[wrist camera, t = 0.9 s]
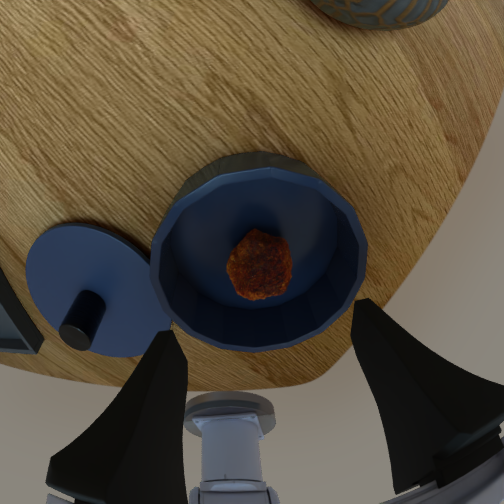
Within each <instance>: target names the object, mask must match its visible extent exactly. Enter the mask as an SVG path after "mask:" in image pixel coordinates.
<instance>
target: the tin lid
mask: <svg viewBox="0 0 504 504" xmlns="http://www.w3.org/2000/svg"><path fill="white" fill-rule="evenodd" d="M149 274H150V260H149V259H148V258H147V257H146V256H145V255H144V254H143V253H142V252H141V251H140V250H139V249H138V248H136V247H135V246H134V245H133V244H132V243H130V242H129V241H127V240H126V239H124V238H123V237H121V236H119V235H117V234H115V233H113V232H111V231H109V230H107V229H104V228H101V227H99V226H95V225H91V224H85V223H65V224H60V225H57V226H54V227H52V228H50V229H48V230H47V231H45V232H44V233H43V234H42V235H41V236H40V237H39V238H38V239H37V240H36V241H35V242H34V244H33V245H32V246H31V249H30V251H29V253H28V257H27V261H26V279H27V284H28V288H29V291H30V294H31V296H32V298H33V301H34V303H35V304H36V306H37V308H38V309H39V311H40V312H41V314H42V315H43V317H44V318H45V319H46V320H47V321H48V323H49V324H50V325H51V326H52V327H53V328H54V329H55V330H57V331H58V332H59V335H60V337H61V339H62V340H63V341H64V342H65V343H66V344H67V345H68V346H70V347H72V348H74V349H76V350H79V351H86V350H89V351H92V352H94V353H98V354H101V355H106V356H111V357H134V356H138V355H142V354H145V352H146V350H147V349H148V347H149V345H150V344H151V342H152V340H153V339H154V337H155V335H156V334H157V332H158V331H166V330H170V327H171V322H172V319H171V318H170V317H169V316H168V315H167V314H166V313H165V312H164V311H163V309H162V307H161V305H160V303H159V300H158V298H157V296H156V293H155V291H154V288H153V286H152V284H151V281H150V278H149Z"/></svg>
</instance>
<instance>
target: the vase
mask: <svg viewBox="0 0 504 504" xmlns="http://www.w3.org/2000/svg"><path fill="white" fill-rule="evenodd" d="M311 1H312V2H313V3H314V4H315V5H316V6H317V7H318V8H319V9H320V10H322V11H323V12H325V13H326V14H328V15H329V16H331V17H333V18H335V19H337V20H339V21H341V22H343V23H346V24H348V25H351V26H355V27H359V28H363V29H369V30H380V31H390V30H399V29H404V28H409V27H413V26H416V25H419V24H421V23H423V22H425V21H427V20H429V19H431V18H432V17H433V16H435V15H436V14H437V13H438V12H440V11H441V10H442V9H443V8H444V7H445V5H446V4H447V2H448V1H449V0H311Z"/></svg>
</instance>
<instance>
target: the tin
mask: <svg viewBox="0 0 504 504" xmlns="http://www.w3.org/2000/svg"><path fill="white" fill-rule="evenodd" d="M253 229H257V230H259V231H262V232H263V233H267V234H269V235H270V236H275V237H281V238H285V240H286V241H287V243H288V245H289V250H290V251H291V253H290V254H291V255H290V257H291V258H292V269H291V276H292V277H291V279H290V282H289V285H288V288H287V291H286V292H284V293H283V294H282V295H277V296H271V297H266V298H265V299H256V300H254V301H253V300H249V299H248V298H244V297H242V296H240V295H239V294H237V292H236V291H235V288H234V285H233V284H232V280H231V279H230V278H229V277H230V276H229V274H228V273H227V271H226V270H227V268H226V267H227V263H228V262H227V261H228V259H229V256H230V253H231V251H232V250H233V249H234V248H236V246H237V245H238V244H239V243H240V241H242V240H243V238H244V237H245V236H246V234H247V233H249V232H250V231H251V230H253ZM271 234H272V235H271ZM367 250H368V242H367V239H366V237H365V234H364V232H363V229H362V227H361V224H360V222H359V219H358V217H357V214H356V212H355V209H354V208H353V206H352V205H351V204H350V203H349V202H348V201H347V200H346V199H345V198H344V197H343V196H342V195H341V194H340V193H339V192H338V191H336V190H335V189H334V188H333V187H332V186H331V185H330V184H329V183H328V182H327V181H326V180H324V179H323V178H322V177H321V176H320V175H318V174H317V173H316V172H315V171H314V170H312V169H311V168H310V167H309V166H307V165H306V164H305V163H304V162H302V161H299V160H296V159H292V158H290V157H287V156H284V155H280V154H275V153H269V152H265V151H263V152H262V151H259V152H247V153H239V154H235V155H230V156H227V157H222V158H219V159H218V160H216V161H214V162H212V163H211V164H209V165H207V166H205V167H203V168H202V169H201V170H199V171H198V172H197V173H195V174H194V175H193V176H191V177H190V178H188V179H187V180H186V181H185V182H184V184H183V185H182V187H181V188H180V190H179V192H178V193H177V194H176V196H175V198H174V199H173V201H172V203H171V204H170V206H169V207H168V209H167V211H166V213H165V215H164V217H163V219H162V221H161V223H160V225H159V227H158V229H157V231H156V233H155V235H154V237H153V239H152V245H151V258H150V274H149V278H150V281H151V284H152V286H153V288H154V291H155V293H156V296H157V298H158V300H159V303H160V305H161V307H162V309H163V311H164V312H165V313H166V314H167V315H168V316H169V317H170V318H171V319H172V320H173V321H174V322H175V323H176V324H177V325H178V326H179V327H180V328H181V329H183V330H184V331H185V332H186V333H187V334H189V335H190V336H192V337H195V338H197V339H199V340H201V341H204V342H206V343H208V344H210V345H213V346H215V347H217V348H220V349H227V350H235V351H244V352H253V353H255V352H263V351H270V350H276V349H282V348H288V347H292V346H294V345H296V344H298V343H300V342H303V341H305V340H307V339H309V338H311V337H313V336H316V335H318V334H320V333H322V332H323V331H324V330H325V329H326V328H328V327H329V326H330V325H331V324H332V323H333V322H334V321H336V320H337V319H338V318H339V317H340V316H341V315H342V314H343V313H344V312H345V311H347V310H348V308H349V307H350V305H351V303H352V301H353V300H354V298H355V296H356V294H357V292H358V290H359V288H360V287H361V285H362V283H363V281H364V278H365V272H366V262H367Z"/></svg>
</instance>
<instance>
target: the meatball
mask: <svg viewBox="0 0 504 504" xmlns="http://www.w3.org/2000/svg"><path fill="white" fill-rule="evenodd" d="M271 235H272V234H271ZM290 253H291V251H290V250H289V245H288V243H287V241H286V240H285V238H281V237H275V236H270V235H269V234H267V233H263V232H262V231H259V230H257V229H253V230H251V231H250V232H249V233H247V234H246V236H245V237H244V238H243V240H242V241H240V243H239V244H238V245H237V246H236V248H234V249H233V250H232V251H231V253H230V256H229V259H228V261H227V262H228V263H227V267H226V268H227V270H226V271H227V273H228V274H229V276H230V277H229V278H230V279H231V280H232V284H233V285H234V288H235V291H236V292H237V294H239V295H240V296H242V297H244V298H248V299H249V300H253V301H254V300H256V299H265V298H266V297H271V296H277V295H282V294H283V293H284V292H286V291H287V288H288V285H289V282H290V279H291V277H292V276H291V269H292V258H291V257H290V255H291V254H290Z"/></svg>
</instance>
